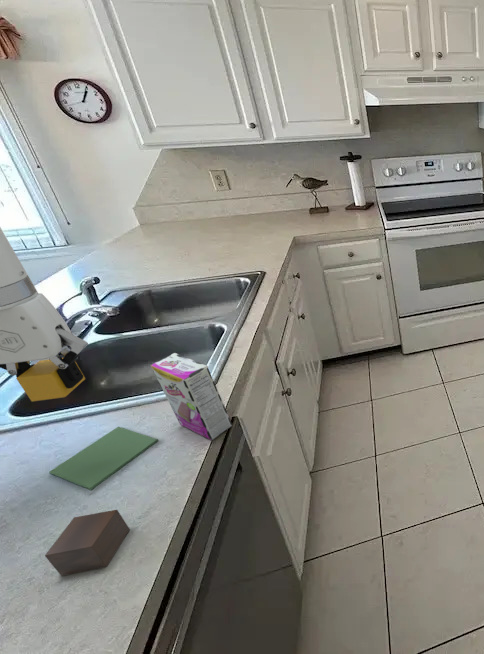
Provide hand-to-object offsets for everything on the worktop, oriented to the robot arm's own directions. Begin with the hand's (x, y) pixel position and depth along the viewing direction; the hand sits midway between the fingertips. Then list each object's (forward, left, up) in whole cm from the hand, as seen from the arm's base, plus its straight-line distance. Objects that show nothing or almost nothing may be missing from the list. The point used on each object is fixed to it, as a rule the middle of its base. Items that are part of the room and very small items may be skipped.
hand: (56, 384), depth 72 cm
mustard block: (0, 0, -1) cm, 1 cm away
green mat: (-2, +1, -20) cm, 20 cm away
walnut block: (+18, -12, -20) cm, 29 cm away
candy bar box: (+10, +13, -20) cm, 26 cm away
